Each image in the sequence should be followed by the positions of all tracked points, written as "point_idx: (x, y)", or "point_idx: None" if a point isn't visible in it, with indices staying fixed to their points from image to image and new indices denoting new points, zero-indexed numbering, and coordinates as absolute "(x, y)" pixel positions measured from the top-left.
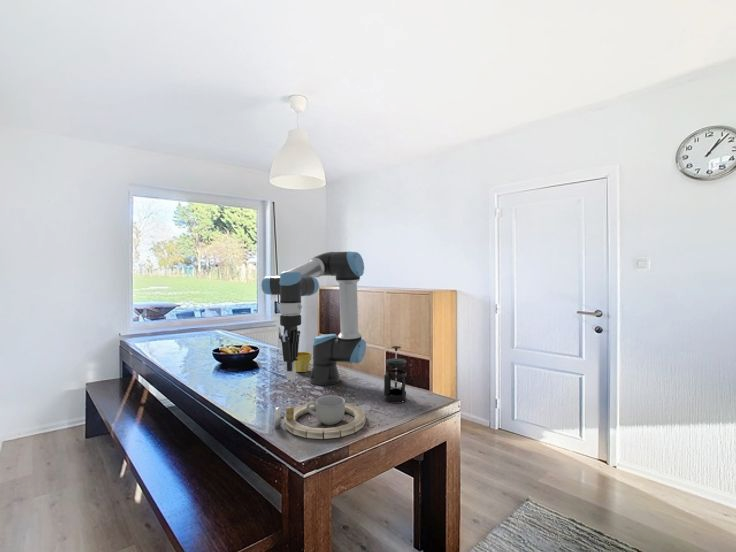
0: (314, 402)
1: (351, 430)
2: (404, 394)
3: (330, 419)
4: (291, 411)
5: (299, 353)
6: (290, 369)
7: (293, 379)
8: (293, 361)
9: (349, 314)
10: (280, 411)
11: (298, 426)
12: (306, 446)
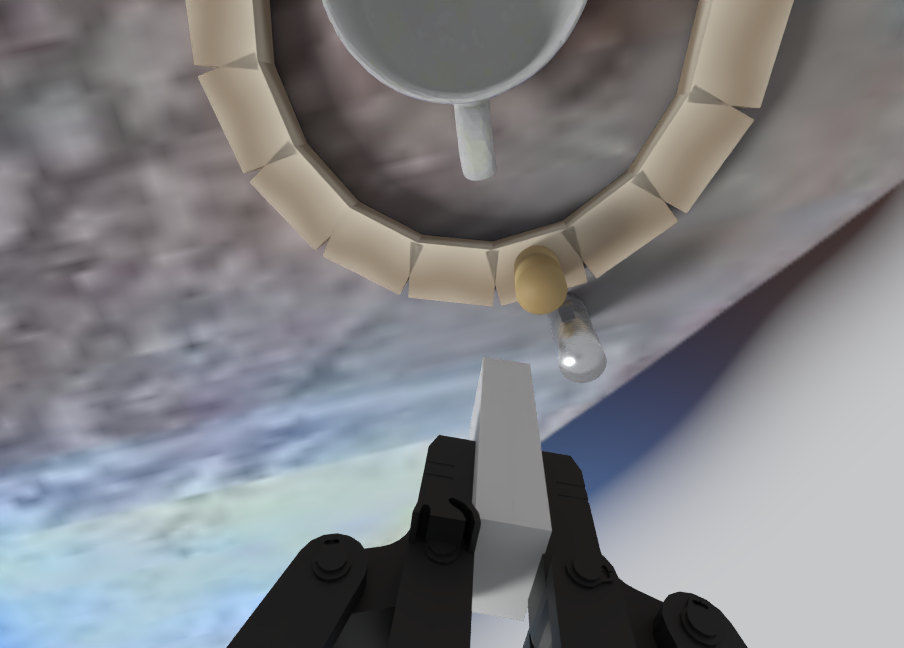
0: (478, 114)
1: None
2: None
3: None
4: (560, 270)
5: None
6: (581, 479)
7: (529, 369)
8: (505, 537)
9: None
10: (592, 336)
11: (661, 187)
12: (848, 87)
